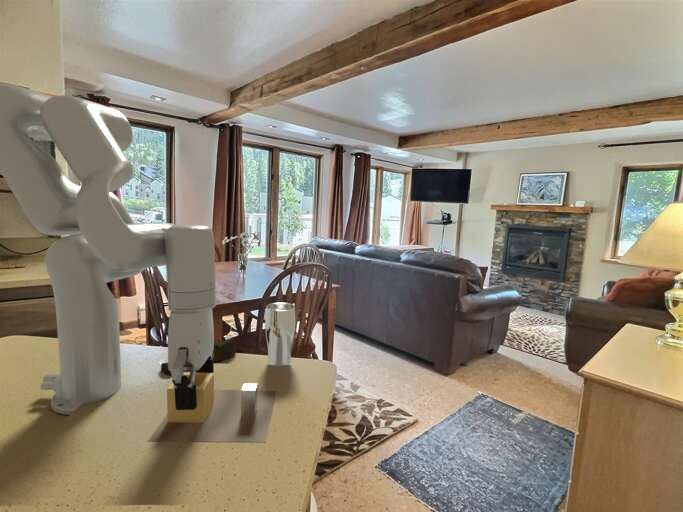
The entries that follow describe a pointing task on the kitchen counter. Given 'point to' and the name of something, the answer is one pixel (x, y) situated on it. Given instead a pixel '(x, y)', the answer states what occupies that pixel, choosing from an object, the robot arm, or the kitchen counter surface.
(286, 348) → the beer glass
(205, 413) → the collar
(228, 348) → the hand tool
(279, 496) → the kitchen counter surface
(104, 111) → the robot arm
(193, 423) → the post board
